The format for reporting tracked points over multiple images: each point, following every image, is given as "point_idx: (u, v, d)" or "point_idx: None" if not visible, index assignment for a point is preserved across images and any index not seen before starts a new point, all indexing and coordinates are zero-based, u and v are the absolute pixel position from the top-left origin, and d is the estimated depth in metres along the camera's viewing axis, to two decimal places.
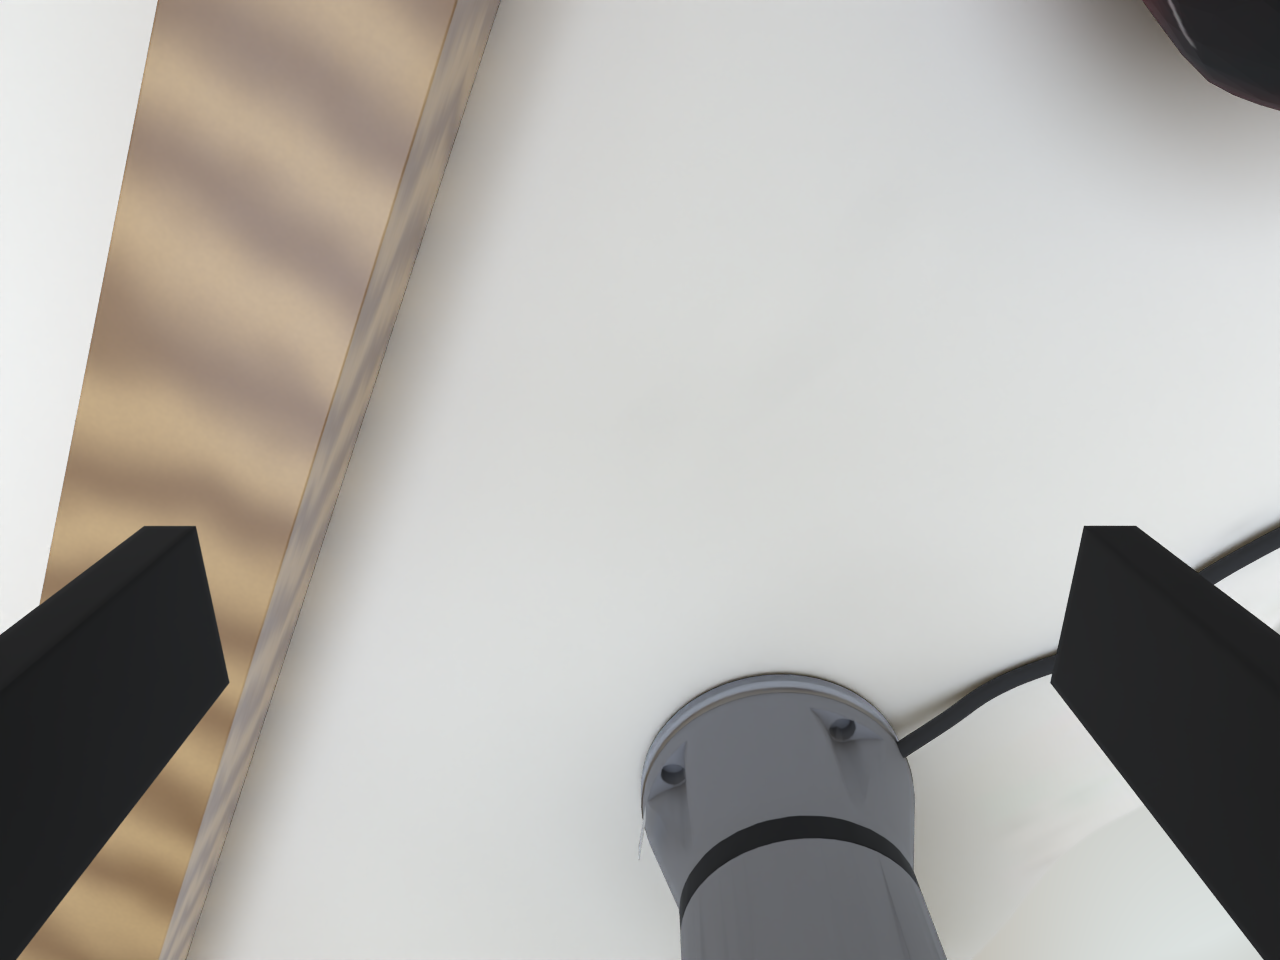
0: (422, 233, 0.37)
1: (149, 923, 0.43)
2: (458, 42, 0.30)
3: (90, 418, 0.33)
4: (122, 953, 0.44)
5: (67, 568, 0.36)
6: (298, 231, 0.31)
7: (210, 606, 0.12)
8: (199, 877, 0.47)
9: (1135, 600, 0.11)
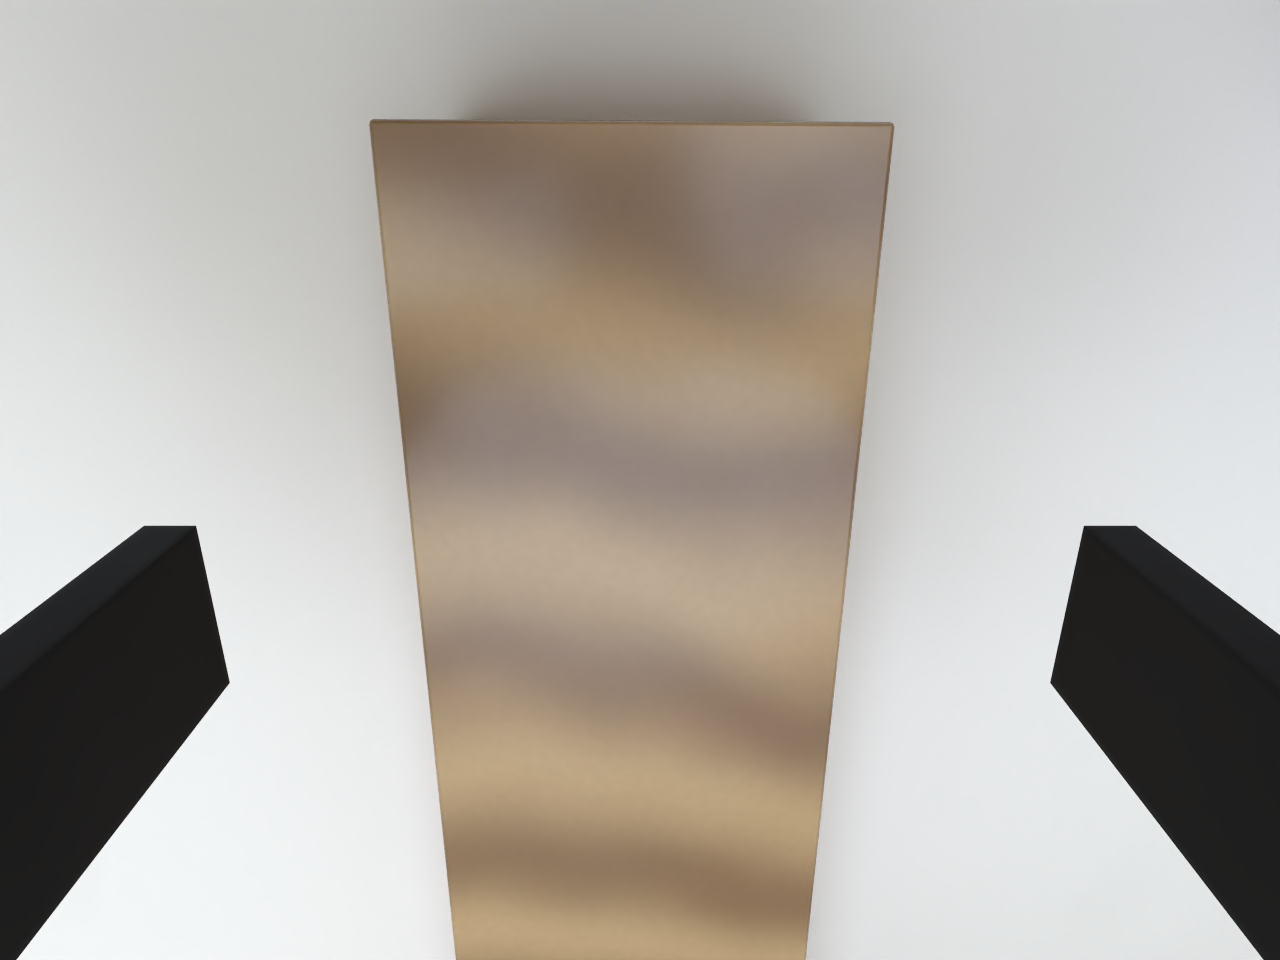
0: None
1: None
2: None
3: None
4: None
5: None
6: None
7: (210, 606, 0.12)
8: None
9: (1135, 601, 0.11)
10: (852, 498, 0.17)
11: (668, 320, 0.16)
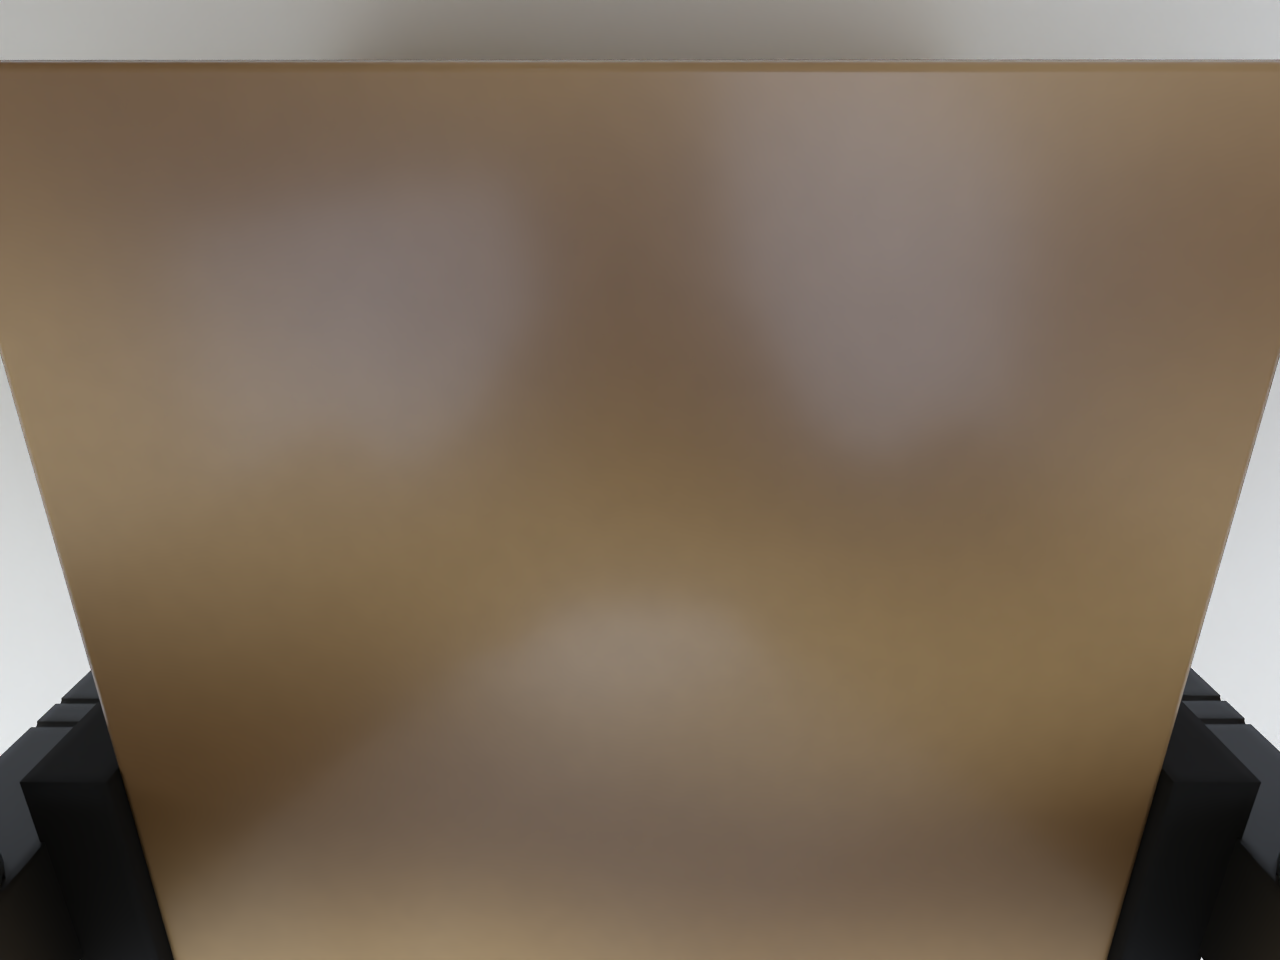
0: None
1: None
2: None
3: None
4: None
5: None
6: None
7: None
8: None
9: None
10: (1122, 900, 0.08)
11: (729, 553, 0.07)
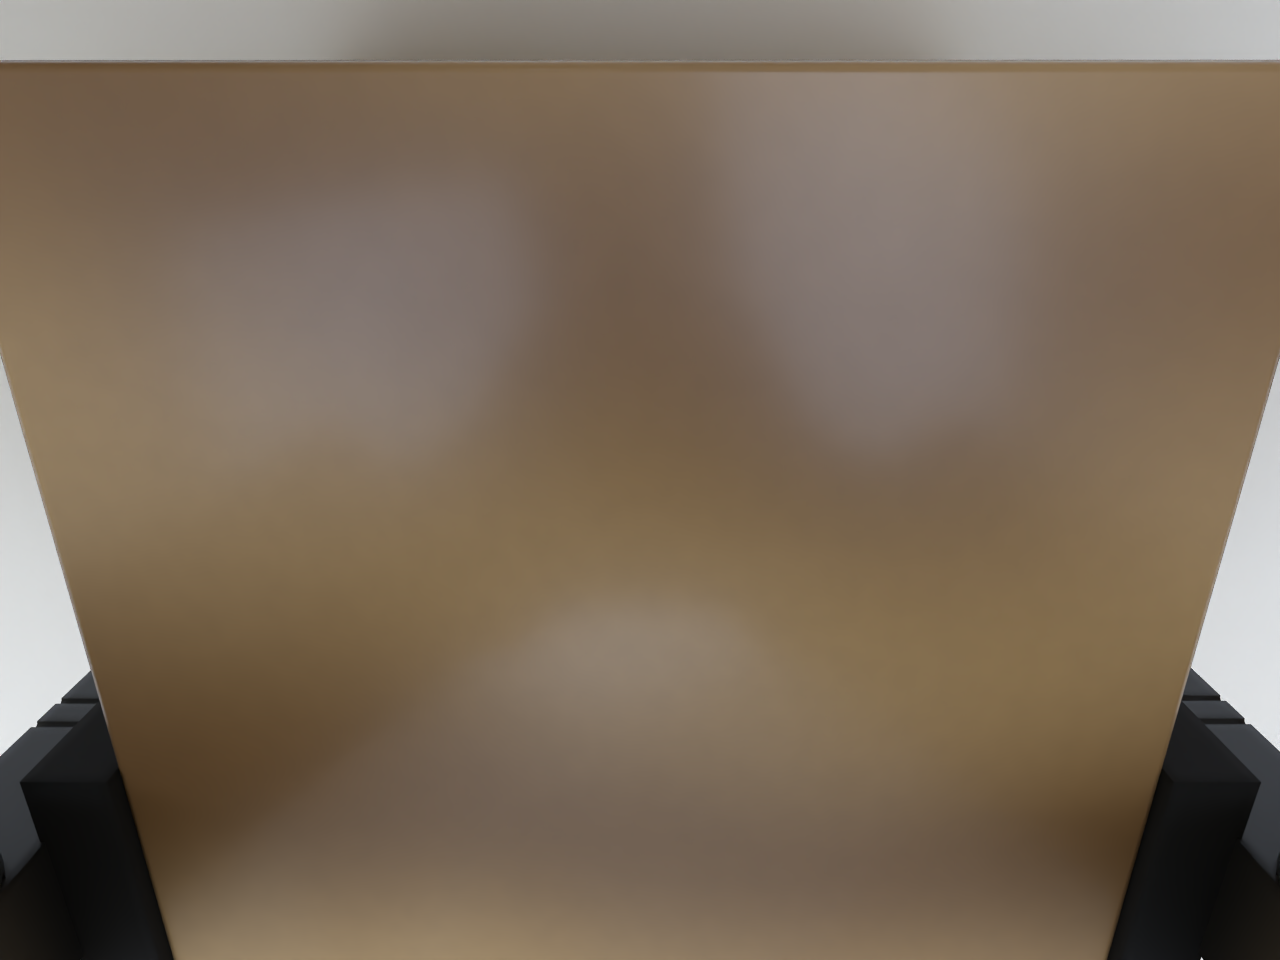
0: None
1: None
2: None
3: None
4: None
5: None
6: None
7: None
8: None
9: None
10: (1122, 900, 0.08)
11: (729, 554, 0.07)
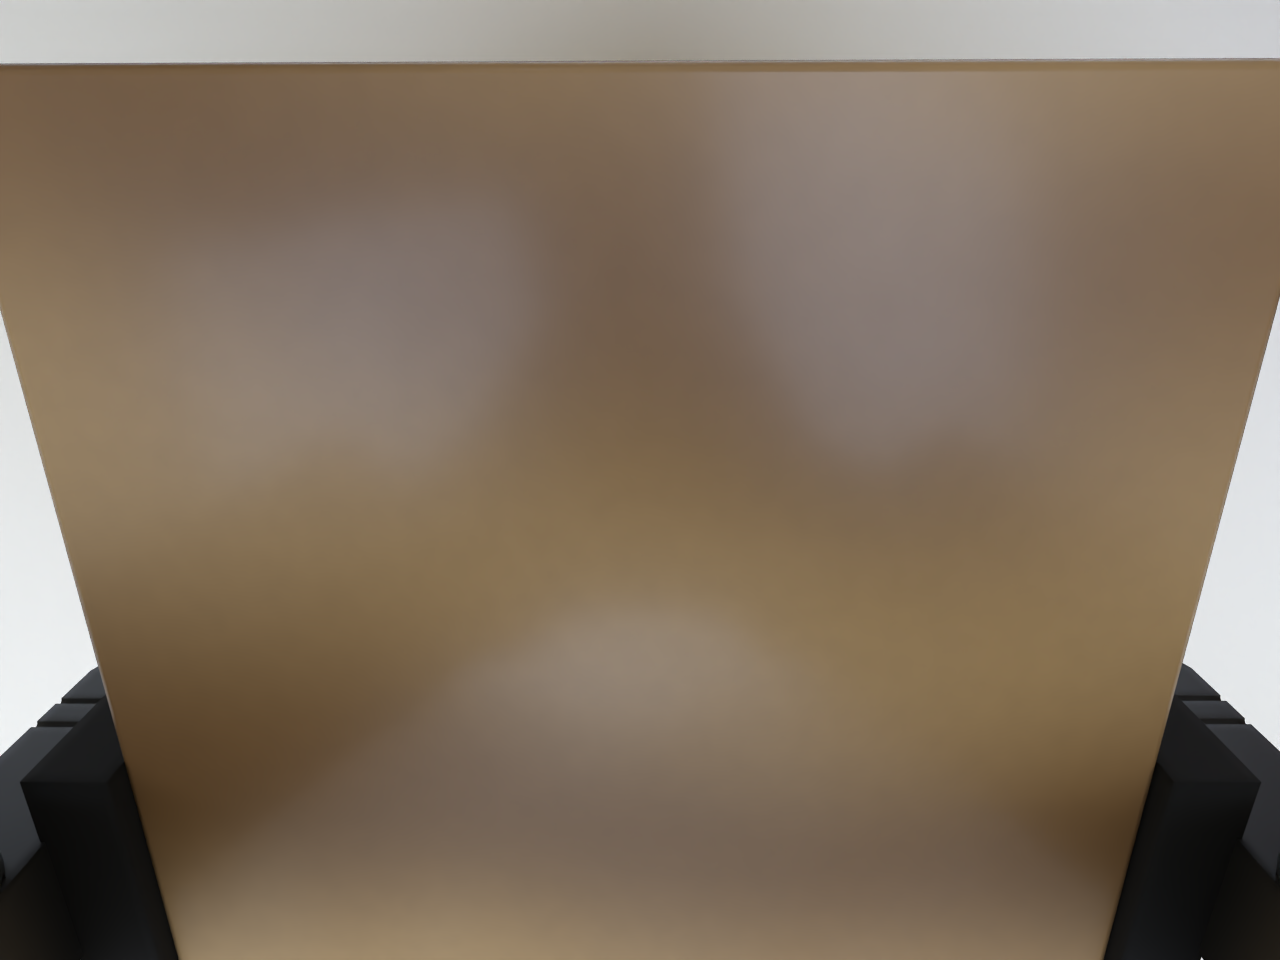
0: None
1: None
2: None
3: None
4: None
5: None
6: None
7: None
8: None
9: None
10: (1119, 893, 0.08)
11: (727, 545, 0.07)
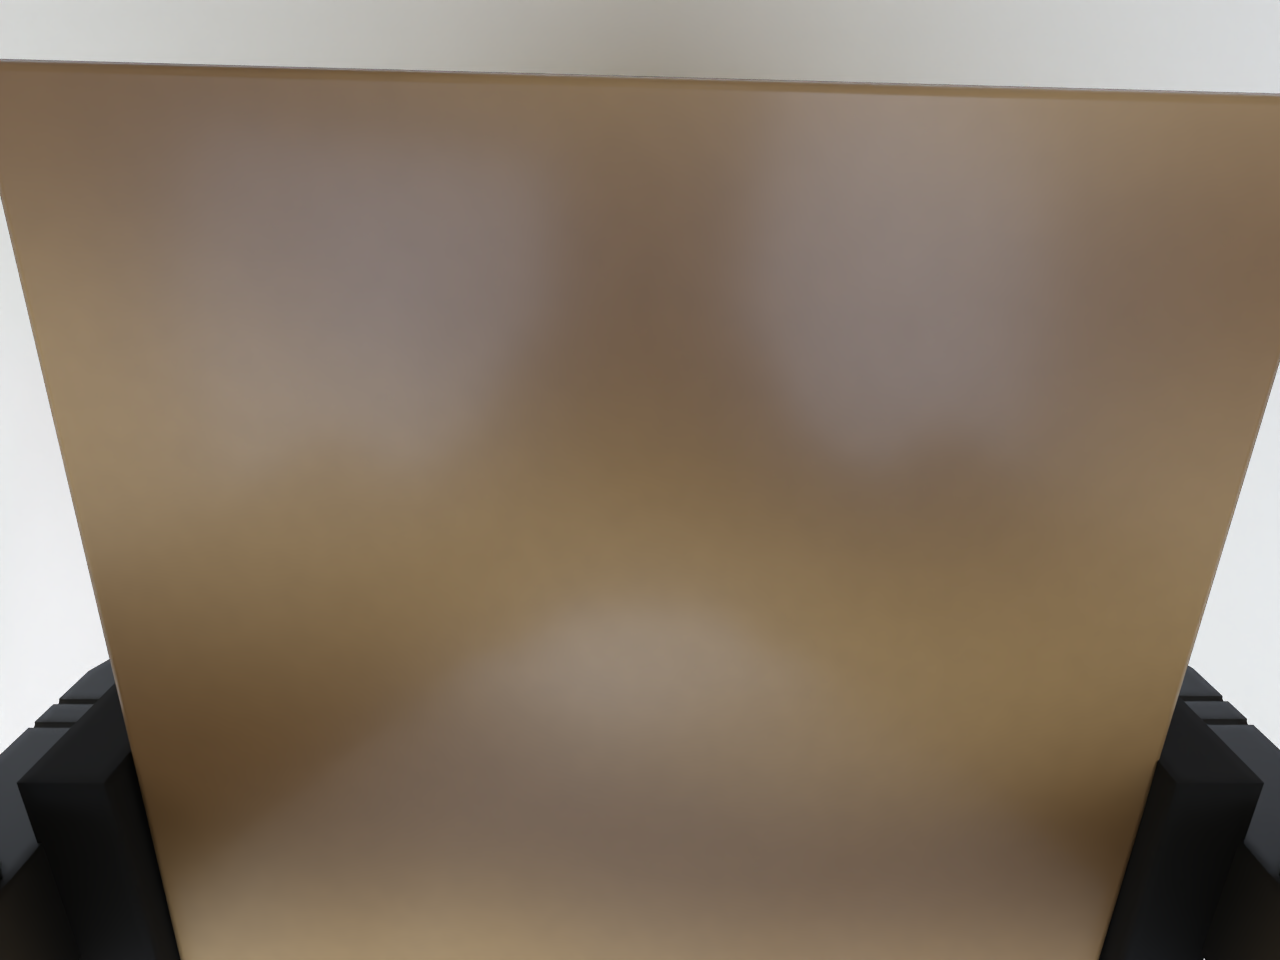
0: None
1: None
2: None
3: None
4: None
5: None
6: None
7: None
8: None
9: None
10: (1113, 905, 0.08)
11: (740, 555, 0.07)
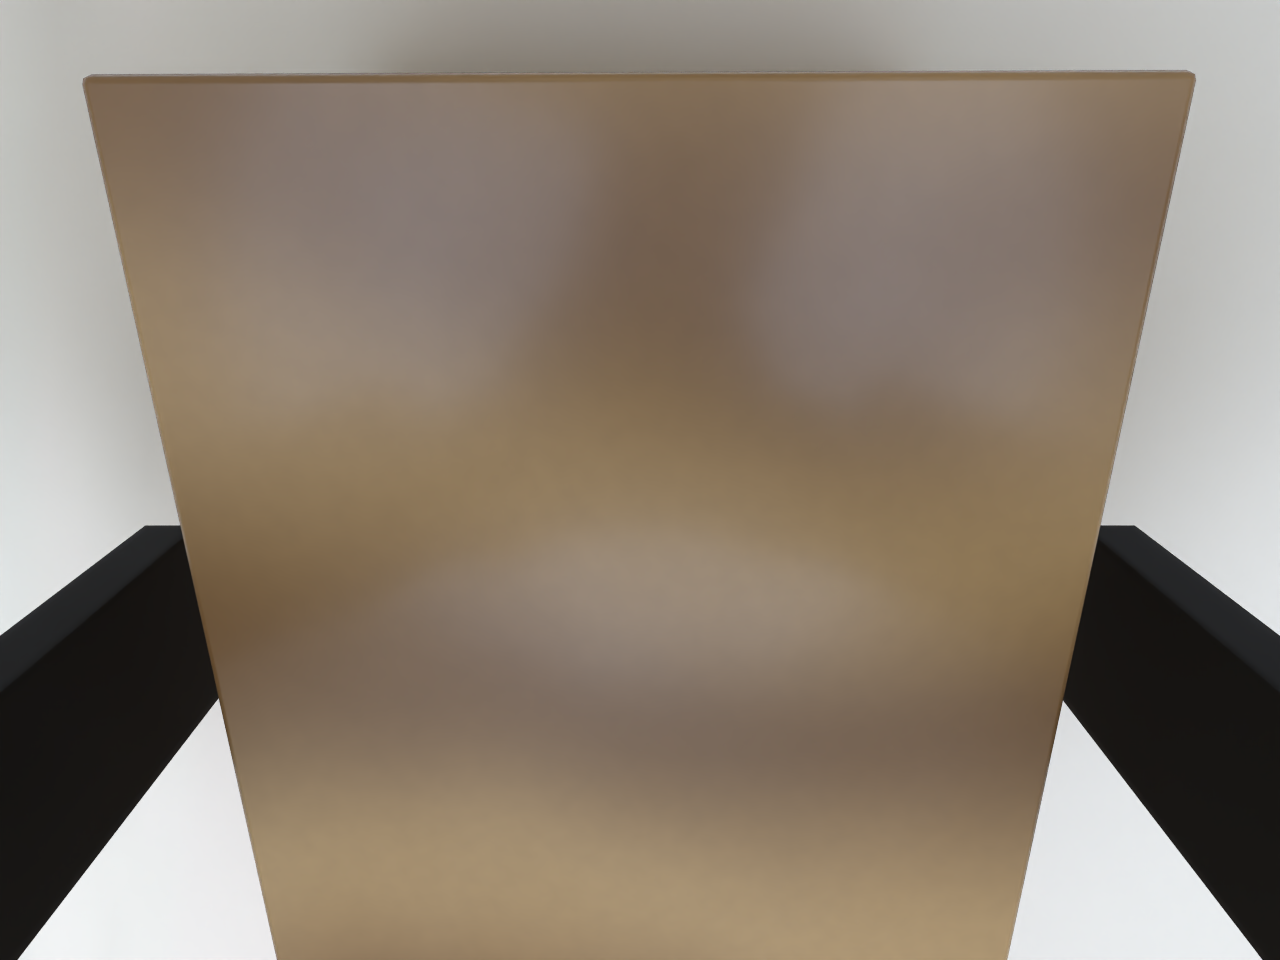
0: None
1: None
2: None
3: None
4: None
5: None
6: None
7: None
8: None
9: (1133, 600, 0.11)
10: (1045, 770, 0.09)
11: (713, 468, 0.08)
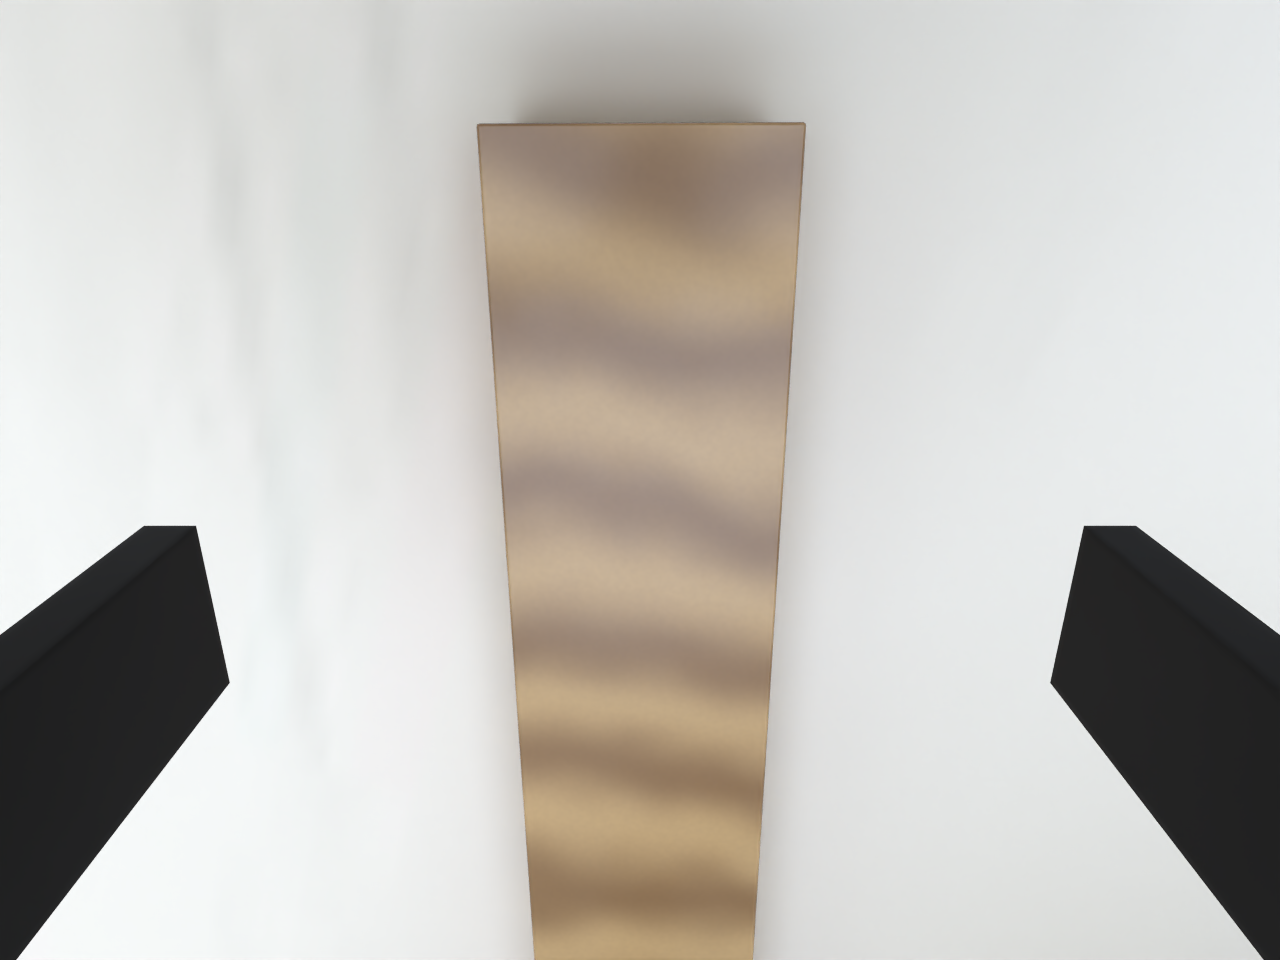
0: None
1: None
2: None
3: None
4: None
5: None
6: (688, 767, 0.31)
7: (210, 606, 0.12)
8: None
9: (1135, 600, 0.11)
10: (788, 371, 0.26)
11: (665, 251, 0.24)
